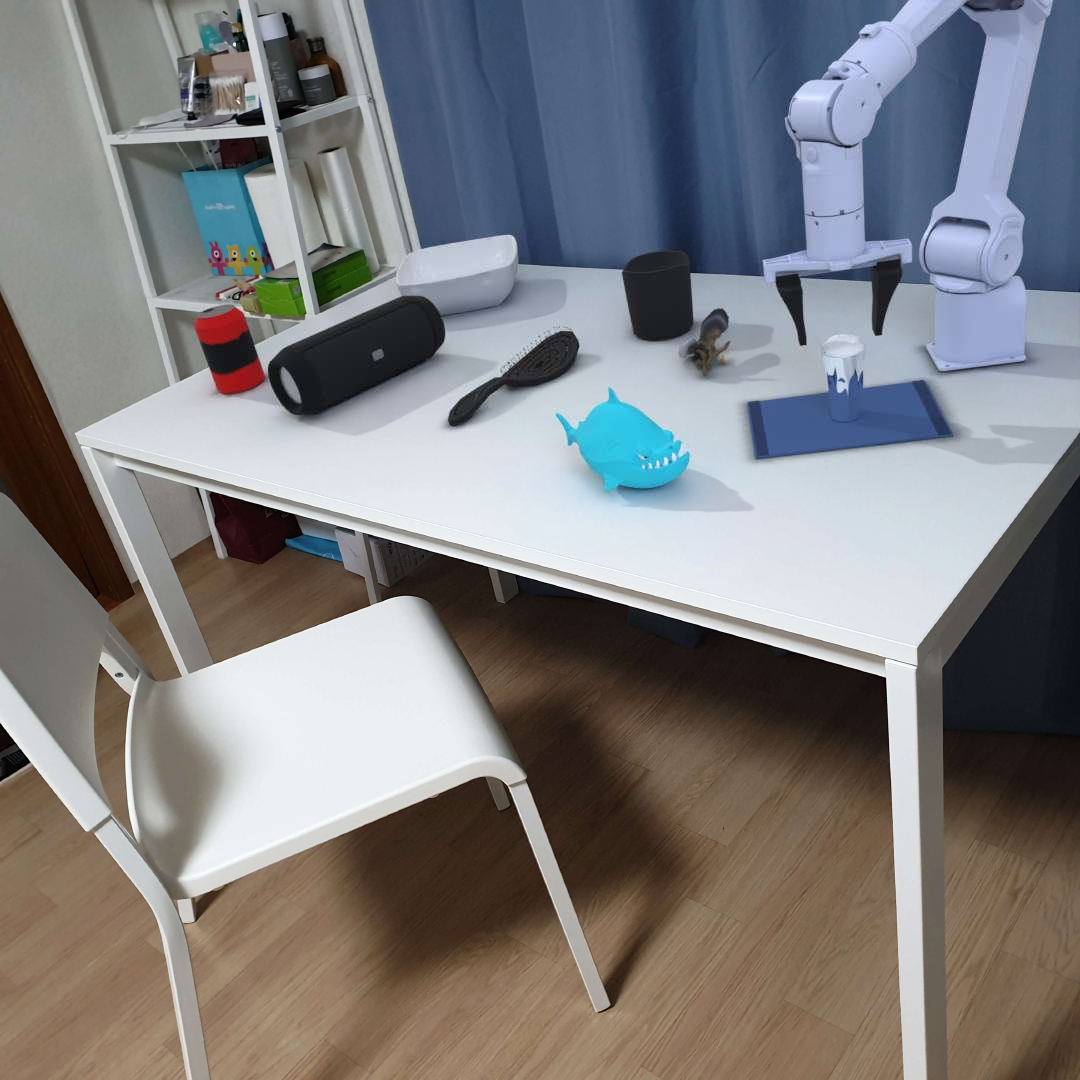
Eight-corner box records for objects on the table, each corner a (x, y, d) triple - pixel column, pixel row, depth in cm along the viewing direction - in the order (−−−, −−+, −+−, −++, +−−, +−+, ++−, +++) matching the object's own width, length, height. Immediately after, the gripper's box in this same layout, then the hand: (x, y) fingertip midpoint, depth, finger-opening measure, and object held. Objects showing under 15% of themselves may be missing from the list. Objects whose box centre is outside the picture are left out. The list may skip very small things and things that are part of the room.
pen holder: (710, 324, 148) (703, 255, 143) (659, 347, 144) (650, 276, 139) (667, 313, 155) (659, 247, 150) (617, 335, 151) (607, 267, 146)
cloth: (924, 382, 119) (924, 379, 119) (953, 436, 107) (953, 433, 107) (747, 404, 123) (747, 401, 123) (755, 458, 111) (755, 456, 111)
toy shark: (660, 518, 104) (646, 420, 99) (535, 480, 116) (516, 392, 111) (719, 475, 109) (708, 380, 104) (593, 444, 121) (578, 357, 116)
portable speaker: (314, 427, 142) (292, 359, 137) (277, 415, 149) (255, 349, 144) (455, 357, 155) (440, 293, 150) (416, 348, 162) (399, 286, 157)
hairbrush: (424, 402, 135) (544, 322, 149) (431, 427, 137) (550, 346, 151) (469, 410, 130) (590, 327, 144) (476, 436, 132) (595, 351, 146)
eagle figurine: (750, 362, 130) (743, 325, 137) (714, 325, 127) (709, 289, 134) (701, 397, 134) (697, 359, 141) (666, 362, 131) (663, 325, 138)
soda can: (244, 373, 168) (219, 301, 162) (275, 376, 163) (250, 303, 157) (208, 392, 163) (180, 319, 157) (238, 396, 158) (212, 321, 152)
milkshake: (810, 416, 117) (805, 331, 112) (854, 403, 117) (851, 318, 112) (829, 430, 113) (825, 343, 108) (875, 417, 113) (873, 330, 108)
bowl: (523, 309, 169) (514, 262, 165) (401, 330, 171) (389, 285, 168) (526, 272, 187) (518, 229, 183) (415, 292, 189) (405, 251, 185)
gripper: (762, 230, 102) (772, 360, 109) (917, 207, 99) (918, 341, 106) (757, 212, 108) (767, 336, 115) (904, 189, 105) (905, 317, 112)
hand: (839, 337), depth 111 cm, fingers open, 7 cm apart
